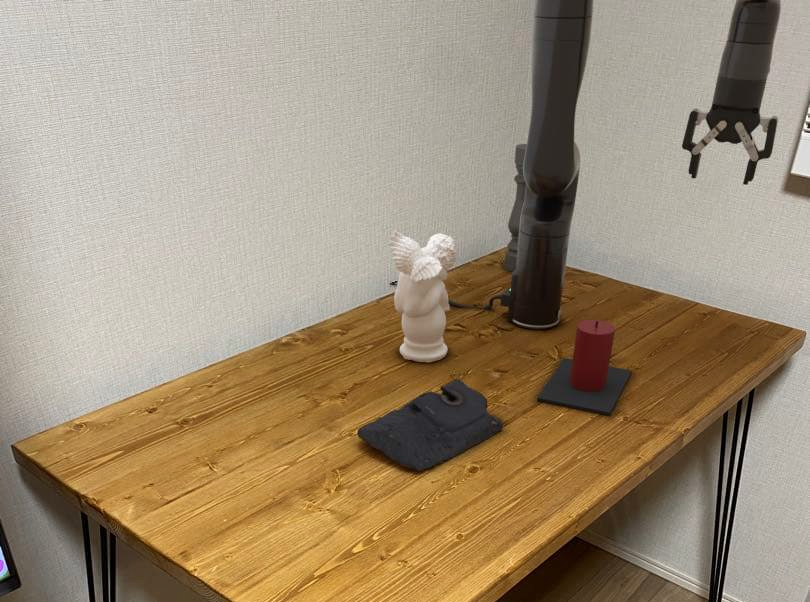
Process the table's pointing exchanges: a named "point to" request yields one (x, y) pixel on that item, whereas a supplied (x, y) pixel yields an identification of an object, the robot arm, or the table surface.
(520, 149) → the candle holder
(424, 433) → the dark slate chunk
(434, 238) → the cherub figurine
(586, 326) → the candle
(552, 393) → the mat
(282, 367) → the table surface
